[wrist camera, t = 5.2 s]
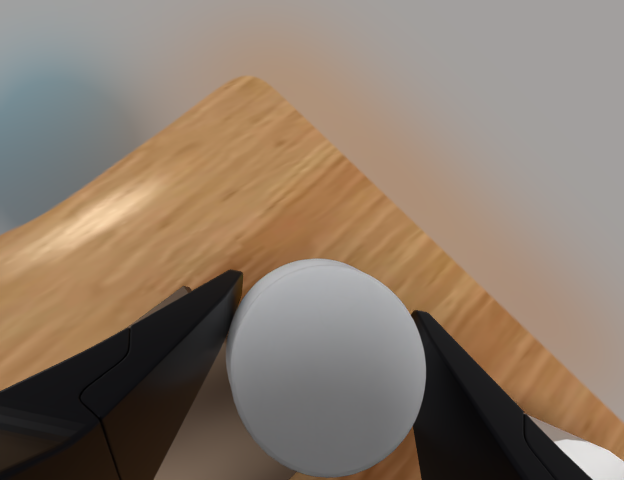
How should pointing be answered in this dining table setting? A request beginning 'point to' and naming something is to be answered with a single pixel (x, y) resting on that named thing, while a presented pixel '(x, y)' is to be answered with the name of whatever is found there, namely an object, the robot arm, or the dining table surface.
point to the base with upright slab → (585, 453)
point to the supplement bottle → (325, 367)
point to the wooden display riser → (215, 433)
